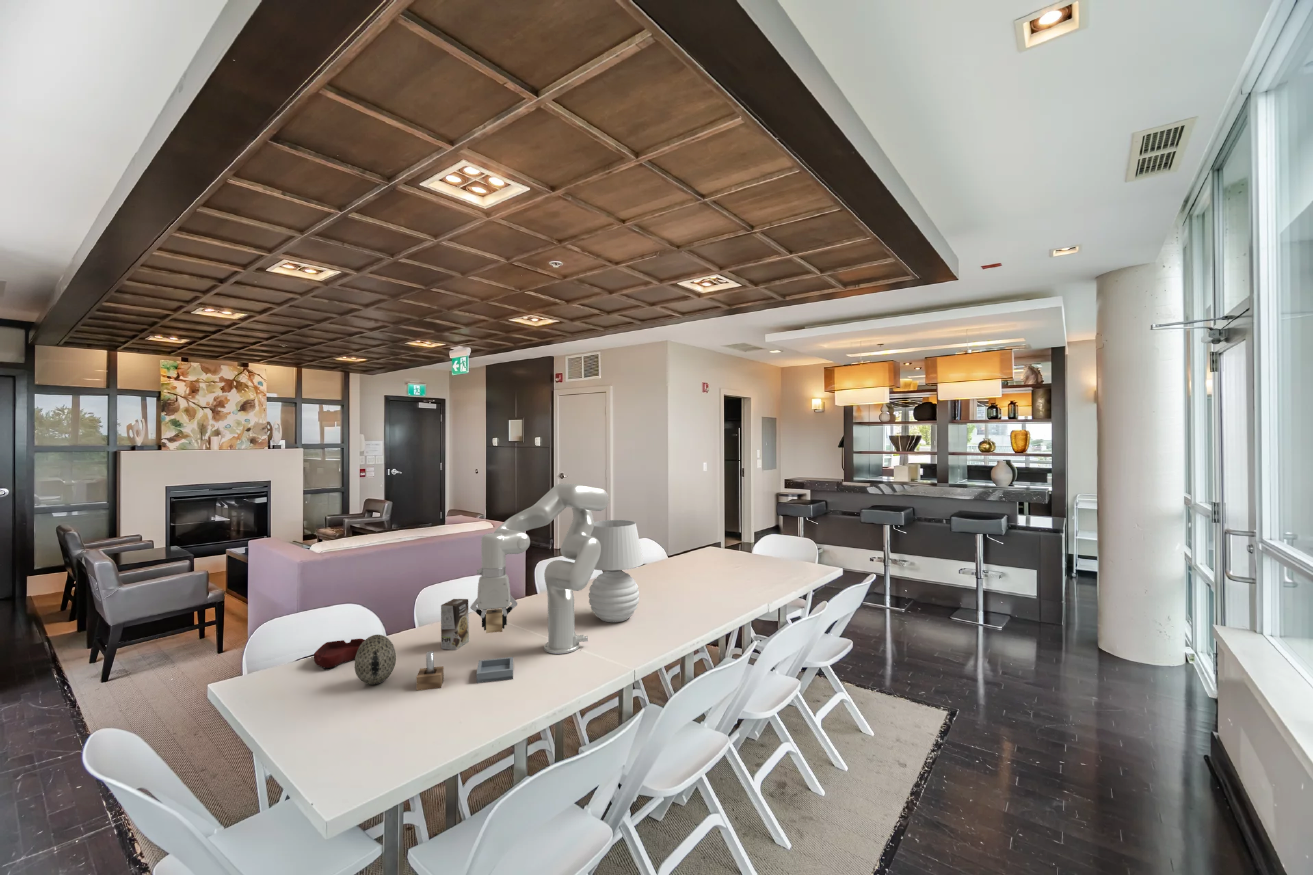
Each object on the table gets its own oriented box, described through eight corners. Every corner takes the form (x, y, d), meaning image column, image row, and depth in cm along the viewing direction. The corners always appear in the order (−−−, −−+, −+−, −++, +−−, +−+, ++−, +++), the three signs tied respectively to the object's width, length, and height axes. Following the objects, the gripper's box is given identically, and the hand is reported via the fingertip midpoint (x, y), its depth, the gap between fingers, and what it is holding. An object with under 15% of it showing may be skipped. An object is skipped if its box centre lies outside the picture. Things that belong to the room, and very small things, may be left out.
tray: (513, 665, 193) (513, 656, 193) (513, 679, 182) (512, 669, 182) (479, 669, 190) (478, 660, 190) (476, 683, 179) (476, 673, 179)
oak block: (502, 626, 189) (502, 608, 189) (502, 631, 184) (502, 612, 184) (486, 628, 188) (486, 609, 188) (486, 633, 183) (485, 613, 183)
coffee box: (456, 650, 208) (456, 605, 208) (440, 649, 209) (439, 604, 209) (469, 641, 217) (469, 598, 217) (454, 640, 218) (453, 597, 218)
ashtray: (350, 647, 213) (350, 634, 213) (377, 655, 204) (376, 641, 204) (300, 664, 198) (299, 649, 198) (326, 673, 189) (326, 658, 189)
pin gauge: (434, 682, 180) (434, 650, 180) (433, 685, 178) (433, 653, 178) (427, 683, 180) (426, 651, 180) (426, 686, 178) (425, 654, 178)
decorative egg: (356, 679, 184) (355, 632, 184) (396, 672, 188) (395, 627, 188) (353, 694, 173) (352, 644, 173) (395, 686, 178) (395, 638, 178)
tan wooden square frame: (443, 678, 183) (443, 666, 183) (440, 687, 176) (440, 674, 176) (420, 681, 182) (420, 668, 182) (416, 690, 175) (416, 677, 175)
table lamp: (611, 606, 259) (609, 517, 259) (656, 615, 244) (654, 521, 244) (571, 621, 238) (569, 525, 238) (618, 632, 223) (616, 530, 223)
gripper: (465, 576, 180) (465, 634, 180) (520, 572, 184) (521, 629, 184) (467, 571, 188) (467, 626, 187) (520, 567, 192) (521, 622, 191)
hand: (494, 627), depth 186 cm, fingers closed on oak block, 5 cm apart
